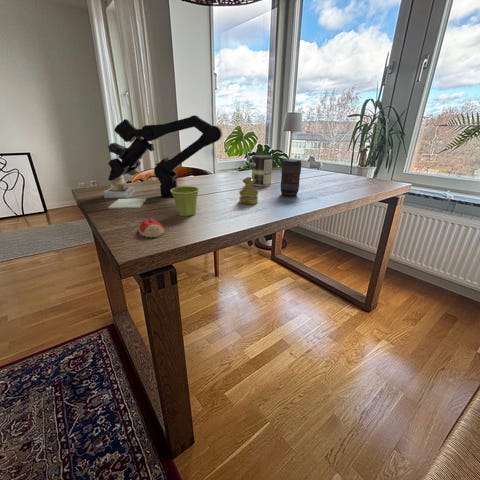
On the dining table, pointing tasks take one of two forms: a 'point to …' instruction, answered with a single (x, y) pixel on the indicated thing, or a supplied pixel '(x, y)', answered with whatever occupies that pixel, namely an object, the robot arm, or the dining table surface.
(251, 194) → the olive yellow tied sack
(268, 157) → the coffee can
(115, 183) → the maple peg
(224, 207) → the dining table surface
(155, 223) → the red and white dome
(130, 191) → the grey square frame
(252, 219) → the dining table surface
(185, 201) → the plant pot
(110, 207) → the sage board
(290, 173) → the dark brown cylinder
